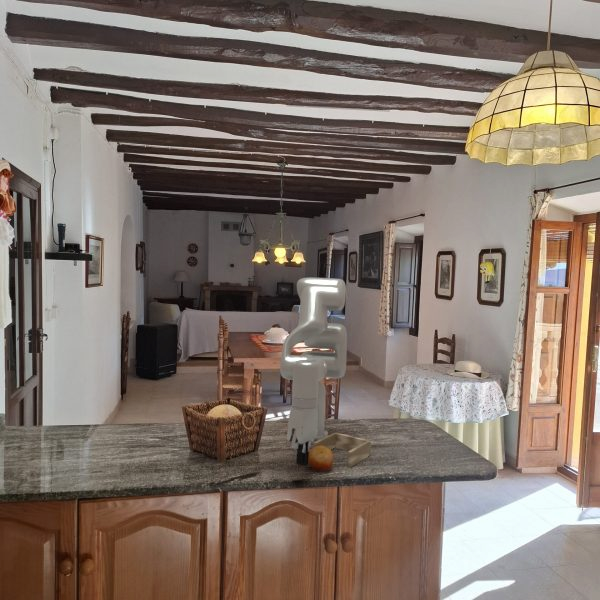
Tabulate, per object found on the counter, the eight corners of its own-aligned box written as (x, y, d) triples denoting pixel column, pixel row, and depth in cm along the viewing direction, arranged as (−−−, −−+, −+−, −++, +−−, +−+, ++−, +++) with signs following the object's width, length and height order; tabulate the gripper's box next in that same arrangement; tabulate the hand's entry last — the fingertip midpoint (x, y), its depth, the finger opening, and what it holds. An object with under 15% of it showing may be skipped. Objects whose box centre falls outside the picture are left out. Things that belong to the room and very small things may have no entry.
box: (313, 457, 169) (313, 442, 169) (334, 446, 181) (335, 432, 180) (350, 467, 161) (351, 452, 161) (370, 455, 173) (370, 440, 173)
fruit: (328, 457, 166) (332, 440, 161) (332, 478, 159) (336, 461, 155) (303, 457, 164) (307, 441, 160) (307, 478, 158) (310, 462, 154)
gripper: (308, 396, 158) (305, 455, 159) (279, 404, 146) (276, 468, 146) (328, 400, 154) (326, 460, 154) (301, 409, 141) (298, 474, 142)
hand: (302, 464), depth 150 cm, fingers closed
